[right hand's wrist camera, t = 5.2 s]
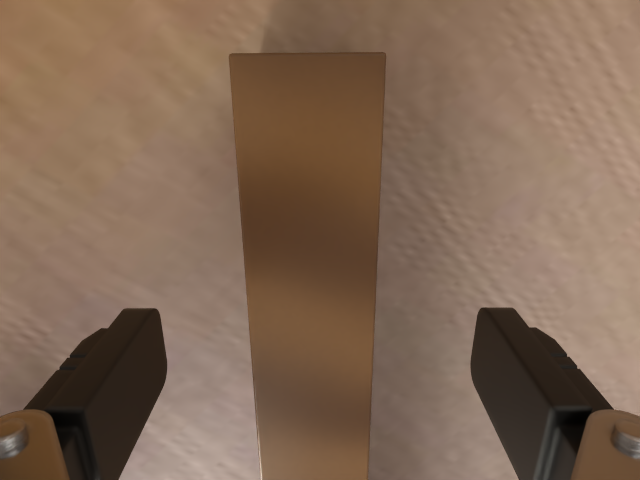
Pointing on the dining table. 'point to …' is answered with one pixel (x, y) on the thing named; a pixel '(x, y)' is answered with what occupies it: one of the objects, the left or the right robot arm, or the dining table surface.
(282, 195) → the beam
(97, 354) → the right robot arm
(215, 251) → the dining table surface
